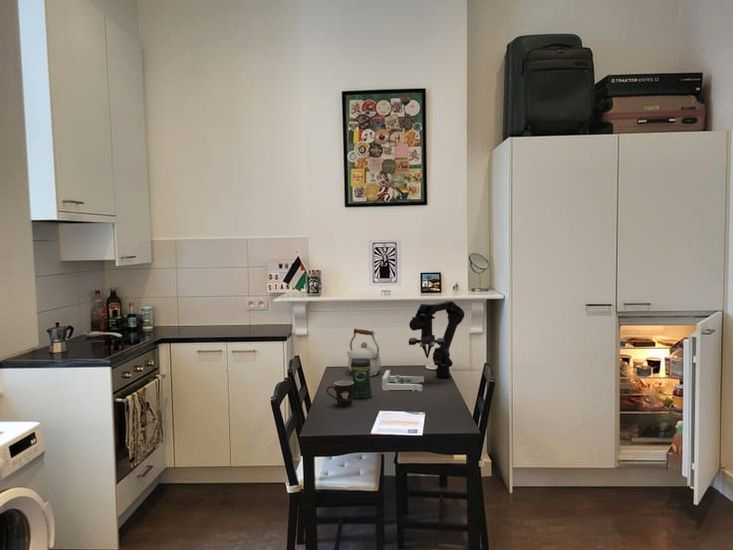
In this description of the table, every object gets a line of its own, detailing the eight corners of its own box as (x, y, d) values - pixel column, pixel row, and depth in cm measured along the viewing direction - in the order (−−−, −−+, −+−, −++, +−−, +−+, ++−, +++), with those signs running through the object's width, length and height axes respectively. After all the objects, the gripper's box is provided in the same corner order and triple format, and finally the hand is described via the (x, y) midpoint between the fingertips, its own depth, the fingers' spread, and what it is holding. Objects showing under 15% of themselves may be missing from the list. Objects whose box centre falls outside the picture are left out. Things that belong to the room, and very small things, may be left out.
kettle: (390, 373, 298) (389, 329, 296) (367, 380, 285) (366, 334, 283) (358, 367, 315) (357, 325, 314) (335, 373, 302) (334, 329, 301)
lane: (424, 381, 279) (423, 370, 278) (422, 391, 261) (422, 379, 260) (386, 381, 282) (386, 369, 281) (382, 390, 264) (382, 378, 263)
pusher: (399, 382, 277) (399, 372, 277) (397, 388, 266) (396, 378, 265) (397, 382, 278) (396, 372, 277) (394, 388, 266) (394, 378, 266)
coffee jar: (372, 394, 258) (371, 356, 257) (371, 399, 250) (370, 360, 249) (352, 394, 259) (351, 356, 258) (350, 399, 251) (349, 360, 250)
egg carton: (399, 384, 277) (398, 376, 277) (413, 384, 276) (413, 376, 276) (397, 389, 266) (397, 381, 266) (412, 389, 265) (412, 381, 265)
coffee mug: (356, 402, 245) (356, 381, 244) (350, 408, 237) (349, 386, 236) (333, 400, 249) (332, 379, 248) (326, 406, 240) (325, 384, 240)
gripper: (407, 330, 271) (408, 361, 272) (444, 330, 268) (445, 361, 269) (409, 327, 282) (409, 356, 283) (444, 327, 279) (445, 356, 280)
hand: (427, 357), depth 278 cm, fingers closed
